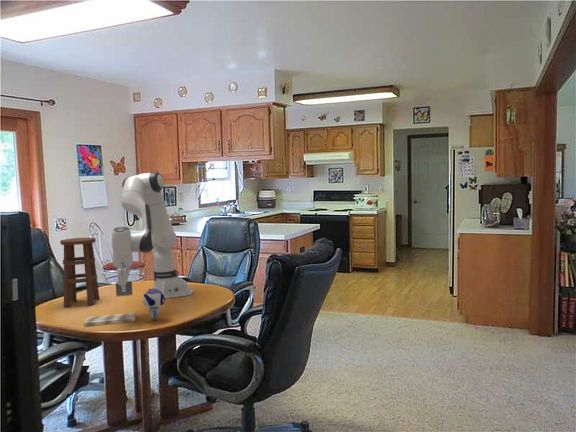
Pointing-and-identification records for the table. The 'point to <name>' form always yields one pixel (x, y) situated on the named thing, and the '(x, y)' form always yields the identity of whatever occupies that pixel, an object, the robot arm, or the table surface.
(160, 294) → the toy
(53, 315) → the table surface
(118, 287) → the block
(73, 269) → the stool
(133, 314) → the board
